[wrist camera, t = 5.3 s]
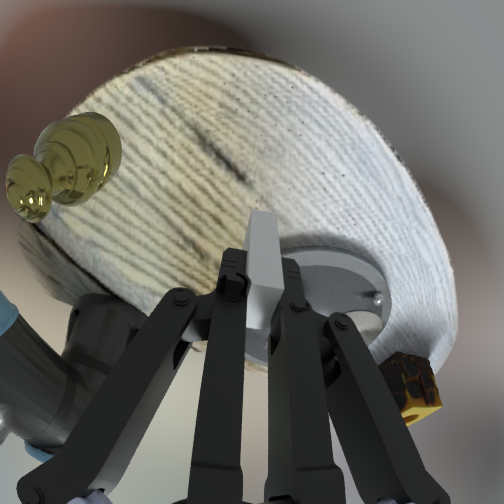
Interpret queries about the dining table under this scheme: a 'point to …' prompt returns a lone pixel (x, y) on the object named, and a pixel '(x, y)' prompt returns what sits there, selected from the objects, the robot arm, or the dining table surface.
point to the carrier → (334, 293)
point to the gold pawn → (64, 166)
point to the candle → (411, 386)
